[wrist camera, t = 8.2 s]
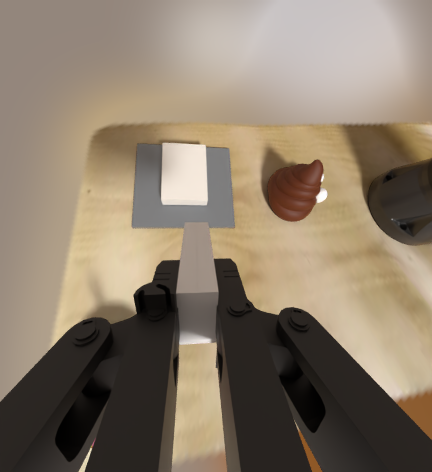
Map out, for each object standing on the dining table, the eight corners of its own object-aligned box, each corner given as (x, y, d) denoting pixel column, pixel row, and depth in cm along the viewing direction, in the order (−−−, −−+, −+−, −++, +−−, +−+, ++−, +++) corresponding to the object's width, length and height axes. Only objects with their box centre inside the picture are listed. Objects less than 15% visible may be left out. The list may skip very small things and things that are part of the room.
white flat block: (206, 205, 33) (204, 153, 35) (207, 200, 30) (205, 145, 33) (162, 205, 32) (164, 151, 34) (161, 199, 29) (162, 142, 32)
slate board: (228, 150, 37) (229, 148, 36) (233, 228, 33) (234, 226, 32) (138, 145, 34) (137, 143, 34) (132, 228, 31) (131, 227, 30)
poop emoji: (262, 171, 37) (286, 133, 28) (305, 173, 38) (341, 138, 29) (267, 223, 34) (296, 199, 25) (313, 223, 35) (356, 201, 26)
